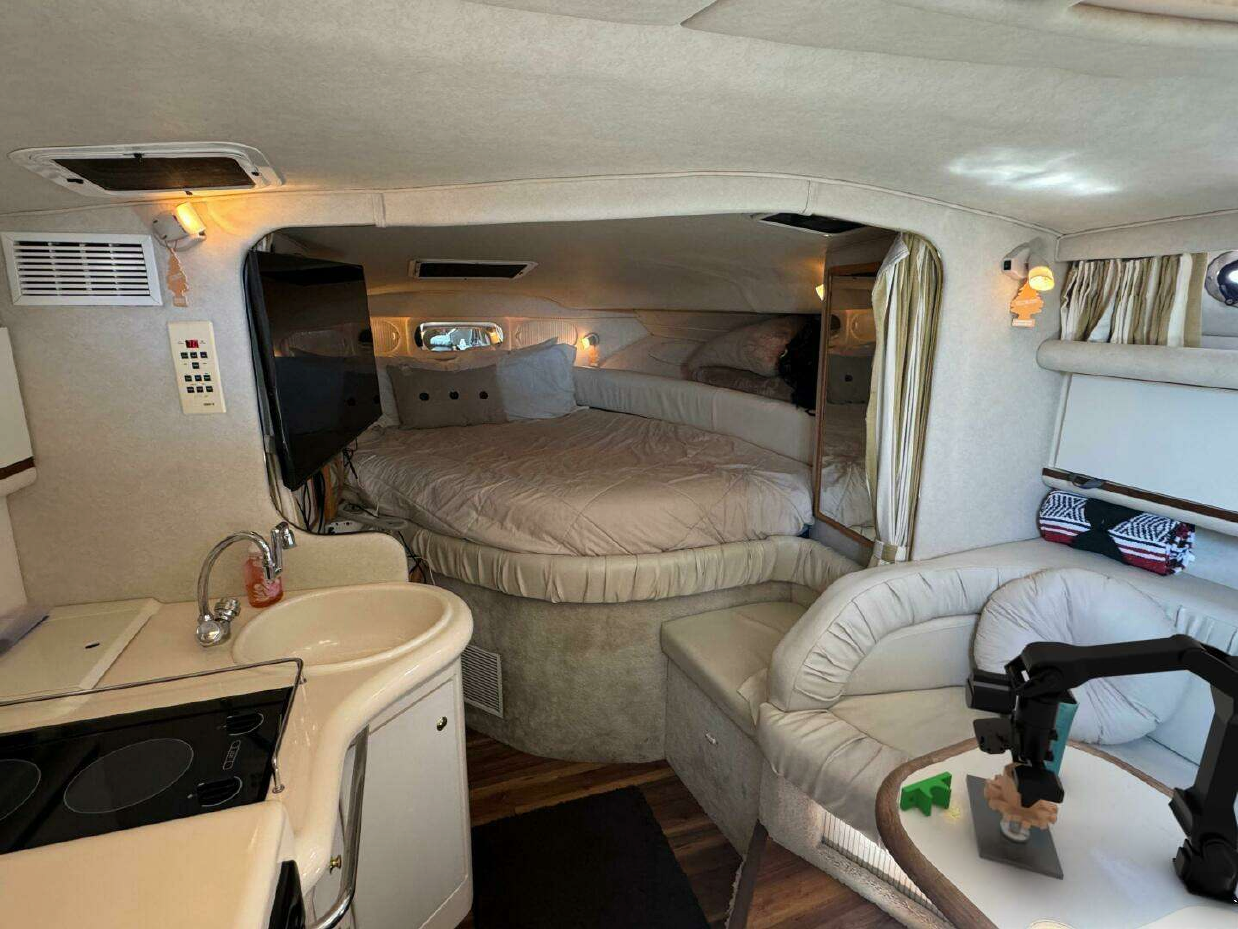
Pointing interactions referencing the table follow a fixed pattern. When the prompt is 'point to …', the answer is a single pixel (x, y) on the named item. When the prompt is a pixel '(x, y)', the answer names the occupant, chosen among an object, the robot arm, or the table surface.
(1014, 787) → the planet gear
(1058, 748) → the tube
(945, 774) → the pipe clamp
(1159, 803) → the table surface
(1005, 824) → the carrier plate
